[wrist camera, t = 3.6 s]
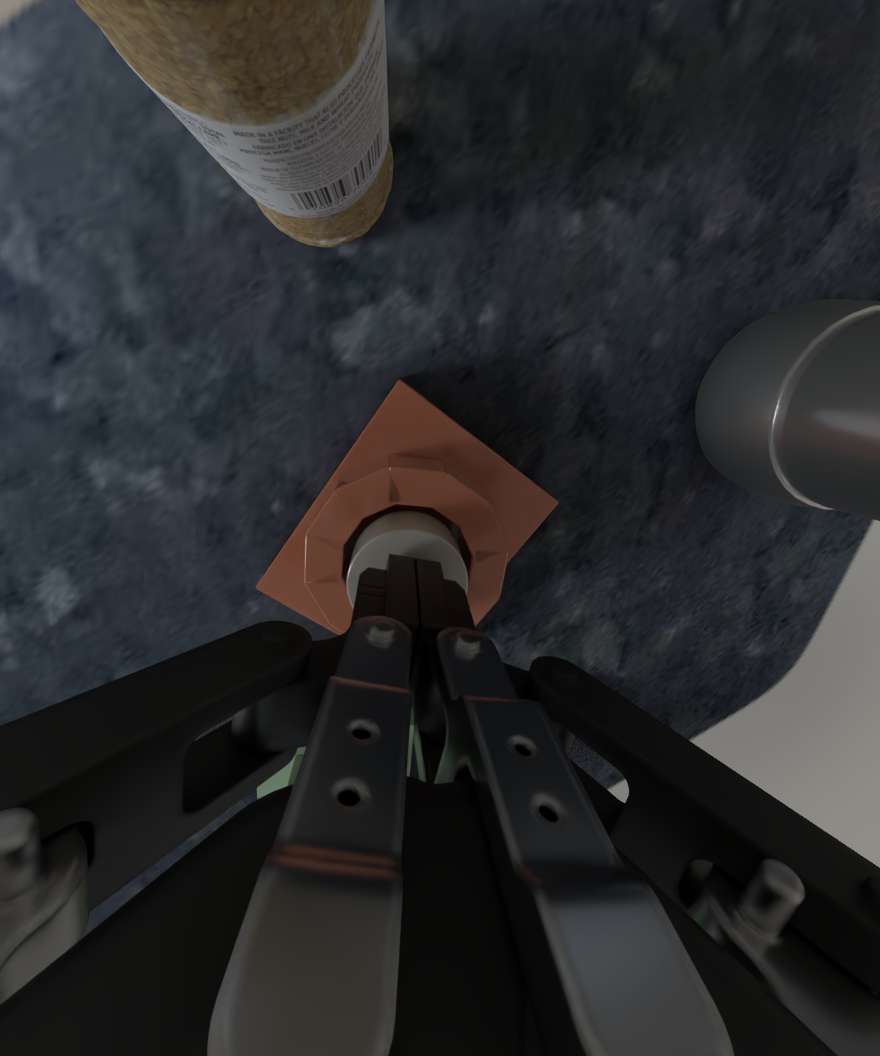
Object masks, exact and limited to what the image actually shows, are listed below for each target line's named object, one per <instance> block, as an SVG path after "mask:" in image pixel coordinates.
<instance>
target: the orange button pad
mask: <svg viewBox="0 0 880 1056" xmlns="http://www.w3.org/2000/svg"><path fill="white" fill-rule="evenodd" d="M558 503H559V502H558V501H557V500H556V499H555V498H554V497H553V496H552V495H551V494H550V493H549V492H547V491H546V490H545V489H544V488H543V487H542V486H541V485H539V484H538V483H537V482H535V481H534V480H533V479H532V478H530V477H529V476H528V475H526V474H525V473H524V472H523V471H521V470H520V469H519V468H517V467H516V466H515V465H513V464H512V463H511V462H510V461H508V460H507V459H506V458H504V457H503V456H502V455H501V454H499V453H498V452H497V451H495V450H494V449H493V448H491V447H490V446H489V445H488V444H486V443H485V442H484V441H482V440H481V439H480V438H479V437H477V436H476V435H475V434H473V433H472V432H471V431H470V430H468V429H467V428H466V427H464V426H463V425H462V424H460V423H459V422H458V421H457V420H455V419H454V418H453V417H451V416H450V415H449V414H448V413H446V412H445V411H444V410H442V409H441V408H440V407H438V406H437V405H436V404H435V403H433V402H432V401H431V400H429V399H428V398H427V397H426V396H424V395H423V394H422V393H420V392H419V391H418V390H416V389H415V388H414V387H413V386H411V385H410V384H409V383H407V382H406V381H405V380H404V379H402V378H401V377H399V378H398V379H397V380H396V382H395V383H394V385H393V386H392V387H391V389H390V390H389V392H388V393H387V395H386V396H385V398H384V399H383V400H382V402H381V403H380V405H379V406H378V408H377V409H376V411H375V412H374V413H373V415H372V416H371V418H370V419H369V421H368V422H367V424H366V425H365V427H364V428H363V429H362V431H361V432H360V434H359V435H358V437H357V438H356V440H355V441H354V442H353V444H352V445H351V447H350V448H349V450H348V451H347V453H346V454H345V455H344V457H343V458H342V460H341V461H340V463H339V464H338V466H337V467H336V468H335V470H334V471H333V473H332V474H331V476H330V477H329V479H328V480H327V482H326V483H325V484H324V486H323V487H322V489H321V490H320V492H319V493H318V495H317V496H316V497H315V499H314V500H313V502H312V503H311V505H310V506H309V508H308V509H307V510H306V512H305V513H304V515H303V516H302V518H301V519H300V521H299V522H298V524H297V525H296V526H295V528H294V529H293V531H292V532H291V534H290V535H289V537H288V538H287V539H286V541H285V542H284V544H283V545H282V547H281V548H280V550H279V551H278V552H277V554H276V555H275V557H274V558H273V560H272V561H271V563H270V564H269V566H268V567H267V569H266V571H265V572H264V574H263V575H262V577H261V579H260V580H259V582H258V583H257V585H256V587H255V588H256V589H257V590H259V591H261V592H263V593H265V594H266V595H268V596H270V597H272V598H273V599H275V600H277V601H279V602H281V603H282V604H284V605H286V606H288V607H290V608H291V609H293V610H295V611H297V612H298V613H300V614H302V615H304V616H306V617H307V618H309V619H311V620H313V621H315V622H316V623H318V624H320V625H322V626H323V627H325V628H327V629H329V630H331V631H332V632H334V633H336V634H338V635H341V634H343V633H344V632H346V631H347V630H348V628H349V627H350V624H351V620H352V614H353V608H352V605H351V603H350V601H349V598H348V594H347V587H346V580H347V573H348V569H349V565H350V561H351V556H352V552H353V549H354V545H355V543H356V541H357V539H358V537H359V536H360V534H361V533H362V532H363V530H364V529H365V528H366V527H367V526H368V525H369V524H370V523H372V522H373V521H375V520H376V519H378V518H380V517H382V516H384V515H387V514H389V513H393V512H398V511H416V512H421V513H425V514H428V515H430V516H433V517H435V518H436V519H438V520H440V521H441V522H442V523H444V524H445V525H446V526H447V527H448V528H449V529H450V530H451V532H452V533H453V534H454V536H455V538H456V540H457V542H458V544H459V547H460V550H461V553H462V556H463V559H464V562H465V566H466V569H467V574H468V590H467V595H466V596H467V599H468V603H469V606H470V611H471V613H472V617H473V621H474V624H475V626H476V625H477V624H478V623H479V622H480V621H481V619H482V618H483V617H484V616H485V615H486V614H487V612H488V611H489V610H490V609H491V608H492V607H493V605H494V604H495V603H496V602H497V601H498V600H499V598H500V597H499V596H500V595H501V591H502V585H503V580H504V575H505V570H506V564H507V563H508V562H509V561H510V560H511V558H512V557H513V556H514V555H515V554H516V553H517V551H518V550H519V549H520V548H521V547H522V546H523V544H524V543H525V542H526V541H527V540H528V538H529V537H530V536H531V535H532V534H533V533H534V531H535V530H536V529H537V528H538V527H539V526H540V524H541V523H542V522H543V521H544V520H545V518H546V517H547V516H548V515H549V514H550V513H551V511H552V510H553V509H554V508H555V507H556V506H557V504H558Z"/></svg>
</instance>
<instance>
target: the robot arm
mask: <svg viewBox="0 0 880 1056" xmlns="http://www.w3.org/2000/svg"><path fill="white" fill-rule="evenodd" d="M411 709H415V720H416V725H415V729H414V734H413V737H414V745H415V753H416V760H417V768H418V775H419V780H418V779H415V778H412V777H409V776H407V764H408V749H409V735H410V720H411ZM231 716H232V720H231V721H229V722H227V723H226V724H224V725H222V726H220V727H219V728H217V729H215V730H213V731H212V732H210V733H208V734H206V735H205V736H203V737H201V738H199V739H198V740H196V741H194V740H195V739H196V738H197V737H198V736H199V735H201V734H202V733H203V732H205V731H206V730H208V729H210V728H211V727H213V726H215V725H217V724H219V723H220V722H222V721H224V720H226V719H227V718H229V717H231ZM574 736H576V737H577V738H578V739H580V740H581V741H582V742H584V743H585V744H586V745H587V746H589V747H590V748H591V749H593V750H594V751H595V752H596V753H598V754H599V755H600V756H601V757H603V758H604V759H605V760H607V761H608V762H609V763H610V764H612V765H613V766H614V767H616V768H617V769H618V770H619V771H620V772H621V773H622V774H623V776H624V777H625V779H626V781H627V783H628V787H629V796H628V798H627V801H626V803H623V802H621V801H620V800H618V799H617V798H616V797H615V796H614V795H612V794H611V793H610V792H609V791H608V790H606V789H605V788H604V787H603V786H602V785H600V784H599V783H598V782H597V781H596V780H594V779H593V778H592V777H591V776H590V775H588V774H587V773H586V772H585V771H584V770H582V769H581V768H580V767H579V766H577V765H576V764H575V763H574V762H573V761H571V760H570V759H569V757H568V755H567V754H568V751H569V749H570V746H571V744H572V741H573V739H574ZM193 741H194V742H193ZM300 747H306V749H305V752H304V755H303V758H302V761H301V764H300V767H299V770H298V773H297V776H296V779H295V782H294V784H293V785H289V786H286V787H283V788H281V789H278V790H275V791H273V792H271V793H269V794H267V795H265V796H263V797H261V798H259V799H257V800H256V801H254V802H252V803H251V804H249V805H248V806H246V807H245V808H243V809H242V810H241V811H239V812H238V813H237V814H235V815H234V816H233V817H232V818H230V819H229V820H228V821H227V822H225V823H224V824H223V825H222V826H221V827H219V828H218V829H217V830H216V831H214V832H213V833H212V834H211V835H209V836H208V837H207V838H206V839H204V840H203V841H202V842H201V843H200V844H198V845H197V846H196V847H195V848H193V849H192V850H191V851H190V852H188V853H187V854H186V855H185V856H183V857H182V858H181V859H180V860H179V861H177V862H176V863H175V864H174V865H172V866H171V867H170V868H169V869H167V870H166V871H165V872H164V873H162V874H161V875H160V876H159V877H157V878H156V879H155V880H154V881H153V882H151V883H150V884H149V885H148V886H146V887H145V888H144V889H143V890H141V891H140V892H139V893H138V894H136V895H135V896H134V897H133V898H132V899H130V900H129V901H128V902H127V903H125V904H124V905H123V906H122V907H120V908H119V909H118V910H117V911H115V912H114V913H113V914H112V915H111V916H109V917H108V918H107V919H106V920H104V921H103V922H102V923H101V924H99V925H98V926H97V927H96V928H94V929H93V930H92V931H91V932H89V933H88V934H87V935H86V936H85V937H83V938H82V939H81V937H82V935H83V933H84V931H85V928H86V926H87V923H88V919H89V914H90V911H91V910H93V909H94V908H95V907H97V906H98V905H99V904H101V903H102V902H103V901H105V900H106V899H107V898H109V897H110V896H112V895H113V894H114V893H116V892H117V891H118V890H120V889H121V888H122V887H124V886H125V885H126V884H128V883H129V882H130V881H132V880H133V879H134V878H136V877H137V876H138V875H140V874H141V873H143V872H144V871H145V870H147V869H148V868H149V867H151V866H152V865H153V864H155V863H156V862H157V861H159V860H160V859H161V858H163V857H164V856H165V855H167V854H168V853H170V852H171V851H172V850H174V849H175V848H176V847H178V846H179V845H180V844H182V843H183V842H184V841H186V840H187V839H188V838H190V837H191V836H192V835H194V834H195V833H196V832H198V831H199V830H201V829H202V828H203V827H205V826H206V825H207V824H209V823H210V822H211V821H213V820H214V819H215V818H217V817H218V816H219V815H221V814H222V813H223V812H225V811H226V810H227V809H229V808H230V807H232V806H233V805H234V804H236V803H237V802H238V801H240V800H241V799H242V798H244V797H245V796H246V795H248V794H249V793H250V792H252V791H253V790H254V789H256V788H257V787H258V786H260V785H261V784H263V783H264V782H265V781H267V780H268V779H269V778H271V777H272V776H273V775H275V774H276V773H277V772H279V771H280V770H281V769H283V768H284V767H285V766H287V765H288V764H289V763H290V762H291V761H292V759H293V758H294V756H295V755H296V752H297V748H300ZM80 939H81V940H80ZM79 940H80V941H79ZM0 1056H880V868H879V867H878V866H876V865H875V864H873V863H872V862H870V861H869V860H867V859H866V858H864V857H863V856H861V855H859V854H858V853H857V852H855V851H854V850H852V849H851V848H849V847H847V846H846V845H845V844H843V843H841V842H840V841H838V840H837V839H835V838H834V837H833V836H831V835H830V834H828V833H827V832H825V831H823V830H822V829H821V828H819V827H817V826H816V825H815V824H813V823H812V822H810V821H809V820H807V819H806V818H804V817H803V816H801V815H799V814H798V813H796V812H795V811H794V810H792V809H791V808H789V807H787V806H786V805H785V804H783V803H782V802H780V801H779V800H777V799H776V798H774V797H773V796H771V795H770V794H768V793H767V792H765V791H763V790H762V789H761V788H759V787H758V786H756V785H755V784H753V783H752V782H750V781H749V780H747V779H746V778H744V777H743V776H741V775H740V774H738V773H737V772H735V771H734V770H732V769H730V768H729V767H728V766H726V765H725V764H723V763H722V762H720V761H718V760H717V759H716V758H714V757H713V756H711V755H710V754H708V753H707V752H705V751H704V750H702V749H701V748H699V747H697V746H696V745H695V744H693V743H692V742H690V741H689V740H687V739H686V738H684V737H683V736H681V735H680V734H678V733H677V732H675V731H674V730H672V729H671V728H669V727H668V726H666V725H665V724H663V723H662V722H660V721H659V720H657V719H656V718H654V717H653V716H651V715H650V714H648V713H647V712H645V711H644V710H642V709H641V708H639V707H638V706H636V705H635V704H633V703H632V702H630V701H629V700H627V699H626V698H624V697H623V696H621V695H620V694H618V693H617V692H615V691H614V690H612V689H611V688H609V687H608V686H606V685H605V684H603V683H602V682H600V681H599V680H597V679H596V678H594V677H593V676H591V675H590V674H588V673H587V672H585V671H584V670H582V669H581V668H579V667H578V666H576V665H574V664H573V663H571V662H569V661H566V660H564V659H560V658H557V657H551V656H543V657H538V658H536V659H535V660H533V662H532V664H531V666H530V669H529V671H526V670H523V669H520V668H517V667H514V666H511V665H508V664H506V663H503V662H502V660H501V658H500V656H499V653H498V651H497V649H496V647H495V645H494V643H493V642H492V641H491V640H490V639H489V638H488V637H486V636H485V635H483V634H481V633H479V632H477V631H476V628H475V624H474V621H473V617H472V613H471V611H470V606H469V603H468V599H467V596H466V592H465V590H464V589H463V588H462V587H461V586H460V585H459V584H458V583H457V582H456V581H453V580H447V579H444V577H443V572H442V567H441V563H440V562H437V561H431V560H425V559H418V558H415V561H414V558H413V557H407V556H400V555H394V554H389V556H388V561H387V566H386V570H383V569H377V568H370V567H368V568H367V569H366V570H364V571H363V572H362V573H361V574H360V575H359V581H358V586H357V592H356V598H355V603H354V609H353V614H352V620H351V624H350V627H349V628H348V630H347V631H346V632H344V633H343V634H341V635H339V636H337V637H334V638H331V639H327V640H318V641H312V637H311V635H310V634H309V632H308V631H307V630H305V629H304V628H302V627H301V626H299V625H296V624H293V623H290V622H284V621H268V622H262V623H258V624H255V625H252V626H250V627H247V628H245V629H242V630H240V631H237V632H235V633H232V634H230V635H227V636H225V637H222V638H220V639H217V640H215V641H212V642H210V643H207V644H205V645H202V646H200V647H197V648H195V649H192V650H190V651H187V652H185V653H182V654H180V655H177V656H175V657H172V658H170V659H167V660H164V661H162V662H159V663H157V664H154V665H152V666H149V667H147V668H144V669H142V670H139V671H137V672H134V673H132V674H129V675H127V676H124V677H122V678H119V679H117V680H114V681H112V682H109V683H107V684H104V685H102V686H99V687H97V688H94V689H92V690H89V691H87V692H84V693H82V694H79V695H77V696H74V697H72V698H69V699H67V700H64V701H62V702H59V703H57V704H54V705H52V706H49V707H47V708H44V709H42V710H39V711H37V712H34V713H32V714H29V715H27V716H24V717H22V718H19V719H17V720H14V721H12V722H9V723H7V724H4V725H2V726H0Z"/></svg>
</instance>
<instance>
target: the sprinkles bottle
mask: <svg viewBox="0 0 880 1056" xmlns="http://www.w3.org/2000/svg"><path fill="white" fill-rule="evenodd" d="M75 1H76V3H77V4H78V5H79V6H80V7H81V8H82V10H83V11H84V12H85V13H86V14H87V15H88V16H89V17H90V18H91V19H92V20H93V21H94V22H95V23H96V24H97V25H98V26H99V27H100V28H101V29H102V31H103V33H104V34H105V36H106V37H107V38H108V40H109V41H110V42H111V44H112V45H113V46H114V48H115V49H116V50H117V52H118V53H119V54H120V55H121V56H122V58H123V59H124V60H125V61H126V62H127V63H128V65H129V66H130V67H131V68H132V69H133V70H134V71H135V73H136V74H137V75H138V76H139V77H140V78H141V79H142V80H143V81H144V82H145V83H146V84H147V85H148V87H149V88H150V89H151V90H152V91H153V92H154V93H155V94H156V95H157V96H158V97H159V98H160V99H161V100H162V101H163V103H164V104H165V105H166V106H167V107H168V108H169V109H170V110H171V111H172V112H173V113H174V114H175V115H176V116H177V118H178V119H179V120H180V121H181V122H182V123H183V124H184V125H185V126H186V128H187V129H188V130H189V131H190V132H191V133H192V134H193V135H194V136H195V137H196V138H197V140H198V141H199V142H200V143H201V144H202V145H203V146H204V147H205V149H206V150H207V151H208V152H209V153H210V154H211V155H212V156H213V157H214V158H215V159H216V160H217V161H218V162H219V163H220V165H221V166H222V167H223V168H224V169H225V170H226V171H227V172H228V173H229V174H230V175H231V176H232V177H233V178H234V180H235V181H236V182H237V183H238V184H239V185H240V186H241V187H242V188H243V189H244V190H245V191H246V192H247V193H248V194H249V195H251V196H252V197H253V198H254V199H255V201H256V203H257V204H258V206H259V207H260V209H261V210H262V212H263V213H264V214H265V216H266V217H267V218H268V219H269V220H270V221H271V222H272V223H273V224H274V225H275V226H276V227H277V228H278V229H279V230H280V231H282V232H284V233H286V234H287V235H289V236H290V237H292V238H293V239H295V240H297V241H299V242H302V243H305V244H307V245H312V246H318V247H336V246H339V245H342V244H347V243H350V242H351V241H353V240H354V239H356V238H357V237H361V236H362V235H364V234H365V233H366V232H367V231H368V230H369V229H370V228H371V227H372V225H373V224H374V223H375V222H376V221H377V220H378V218H379V216H380V215H381V213H382V212H383V210H384V206H385V204H386V201H387V198H388V194H389V193H390V191H391V186H392V176H393V153H392V147H391V143H390V140H389V118H388V88H387V58H386V36H385V10H384V0H75Z"/></svg>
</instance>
